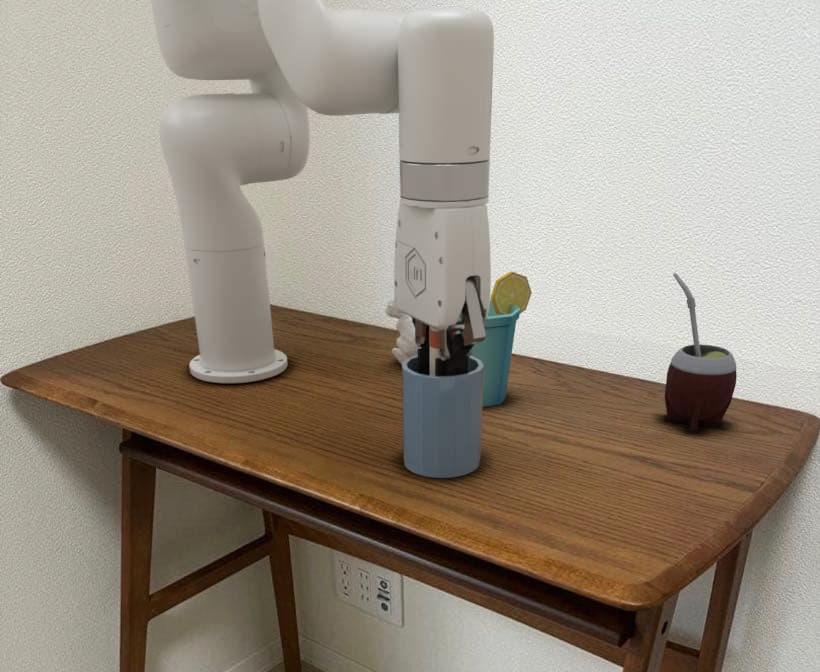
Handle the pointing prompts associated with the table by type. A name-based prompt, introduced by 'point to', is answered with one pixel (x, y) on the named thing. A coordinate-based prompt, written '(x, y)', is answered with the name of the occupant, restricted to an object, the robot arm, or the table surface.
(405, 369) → the tumbler
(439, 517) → the table surface
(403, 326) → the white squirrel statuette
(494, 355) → the cup
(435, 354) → the beige cylinder rod
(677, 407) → the mate gourd
